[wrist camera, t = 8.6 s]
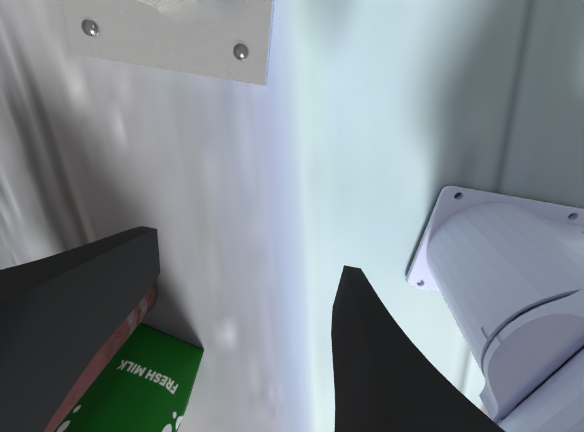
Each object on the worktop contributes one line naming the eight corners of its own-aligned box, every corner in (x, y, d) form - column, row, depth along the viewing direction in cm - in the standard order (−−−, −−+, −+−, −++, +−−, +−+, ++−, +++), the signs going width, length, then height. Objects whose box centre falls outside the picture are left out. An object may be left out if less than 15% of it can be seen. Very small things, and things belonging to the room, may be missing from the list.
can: (79, 263, 25) (-169, 442, 13) (136, 247, 24) (-83, 434, 11) (116, 314, 28) (-63, 509, 15) (171, 302, 26) (22, 510, 13)
